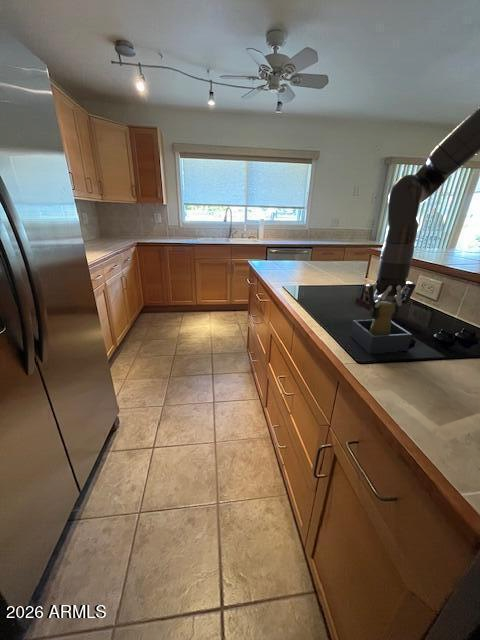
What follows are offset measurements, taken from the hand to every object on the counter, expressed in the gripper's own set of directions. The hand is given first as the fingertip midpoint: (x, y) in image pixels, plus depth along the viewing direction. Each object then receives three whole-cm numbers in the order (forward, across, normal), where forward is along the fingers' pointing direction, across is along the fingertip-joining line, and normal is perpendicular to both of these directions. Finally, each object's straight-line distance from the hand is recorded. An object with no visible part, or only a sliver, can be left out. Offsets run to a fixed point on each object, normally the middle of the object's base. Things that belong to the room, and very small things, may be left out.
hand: (383, 317), depth 77 cm
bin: (+9, 0, 0) cm, 9 cm away
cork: (+7, 0, 0) cm, 7 cm away
